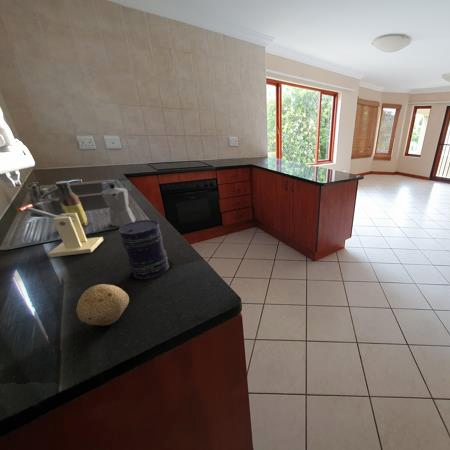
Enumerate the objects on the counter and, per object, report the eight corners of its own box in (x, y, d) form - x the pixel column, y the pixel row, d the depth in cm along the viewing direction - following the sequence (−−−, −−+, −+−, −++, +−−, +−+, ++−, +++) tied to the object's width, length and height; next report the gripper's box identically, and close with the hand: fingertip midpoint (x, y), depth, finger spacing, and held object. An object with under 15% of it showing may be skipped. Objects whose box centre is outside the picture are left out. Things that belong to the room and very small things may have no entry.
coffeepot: (137, 225, 106) (125, 185, 99) (111, 230, 101) (97, 188, 94) (135, 214, 118) (124, 179, 110) (111, 218, 113) (99, 181, 105)
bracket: (49, 257, 80) (32, 222, 75) (66, 244, 89) (52, 212, 84) (91, 252, 84) (78, 219, 79) (103, 240, 92) (92, 209, 87)
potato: (73, 339, 50) (54, 302, 46) (101, 309, 59) (87, 275, 55) (118, 336, 51) (103, 300, 47) (140, 307, 59) (129, 274, 55)
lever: (15, 212, 75) (17, 206, 75) (27, 207, 79) (28, 201, 79) (67, 227, 81) (68, 221, 80) (74, 222, 85) (76, 216, 85)
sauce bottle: (74, 224, 106) (56, 180, 99) (91, 222, 108) (75, 179, 101) (67, 229, 101) (47, 184, 93) (85, 227, 103) (67, 182, 95)
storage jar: (151, 259, 80) (140, 218, 74) (176, 263, 78) (166, 221, 72) (124, 276, 71) (109, 231, 65) (151, 281, 69) (138, 235, 63)
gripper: (6, 137, 77) (25, 179, 83) (-59, 142, 59) (-28, 195, 65) (30, 137, 79) (48, 178, 84) (-25, 142, 61) (1, 193, 66)
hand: (14, 186), depth 74 cm, fingers closed
